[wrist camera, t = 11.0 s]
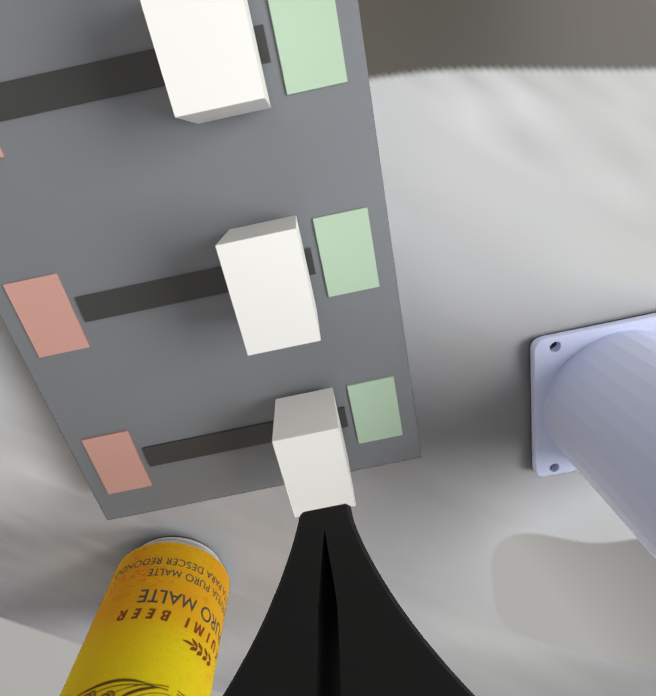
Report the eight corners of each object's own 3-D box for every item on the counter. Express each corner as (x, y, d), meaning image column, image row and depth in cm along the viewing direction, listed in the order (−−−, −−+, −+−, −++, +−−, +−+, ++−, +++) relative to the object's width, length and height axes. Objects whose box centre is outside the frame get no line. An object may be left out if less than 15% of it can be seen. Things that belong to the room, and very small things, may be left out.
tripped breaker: (296, 215, 16) (295, 228, 13) (316, 310, 17) (320, 340, 15) (229, 229, 16) (215, 245, 13) (255, 323, 17) (248, 355, 15)
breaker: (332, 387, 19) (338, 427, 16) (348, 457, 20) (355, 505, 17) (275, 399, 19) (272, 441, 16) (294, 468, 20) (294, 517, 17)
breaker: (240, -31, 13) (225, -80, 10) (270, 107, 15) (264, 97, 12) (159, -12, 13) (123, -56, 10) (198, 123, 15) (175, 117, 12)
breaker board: (337, -70, 15) (343, -103, 13) (411, 432, 23) (421, 458, 21) (-104, 29, 15) (-162, 12, 13) (122, 491, 23) (106, 521, 21)
